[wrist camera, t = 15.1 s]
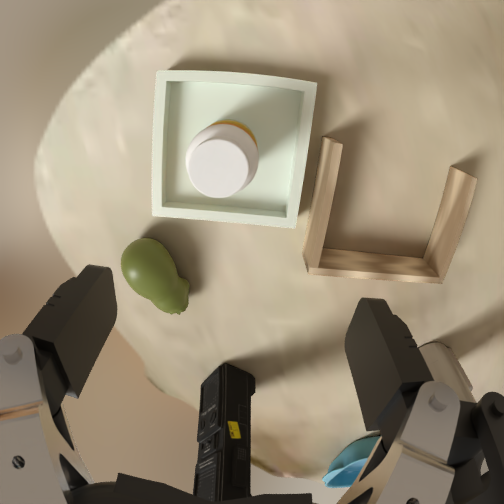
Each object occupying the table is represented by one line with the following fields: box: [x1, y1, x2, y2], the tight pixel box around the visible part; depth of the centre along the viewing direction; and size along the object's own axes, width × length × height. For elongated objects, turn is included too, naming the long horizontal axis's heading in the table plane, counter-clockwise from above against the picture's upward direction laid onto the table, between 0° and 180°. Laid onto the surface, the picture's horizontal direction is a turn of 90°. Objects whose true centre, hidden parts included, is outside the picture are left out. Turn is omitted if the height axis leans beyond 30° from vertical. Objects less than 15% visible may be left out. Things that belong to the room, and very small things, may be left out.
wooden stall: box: [302, 136, 478, 284], centre depth 29 cm, size 17×13×4 cm
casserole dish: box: [322, 436, 381, 488], centre depth 57 cm, size 37×22×7 cm, turn 80°
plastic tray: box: [152, 70, 317, 229], centre depth 27 cm, size 14×14×2 cm
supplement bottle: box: [185, 119, 259, 198], centre depth 23 cm, size 5×5×10 cm
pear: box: [121, 238, 189, 315], centre depth 33 cm, size 6×5×10 cm
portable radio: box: [193, 364, 255, 502], centre depth 33 cm, size 8×6×25 cm
